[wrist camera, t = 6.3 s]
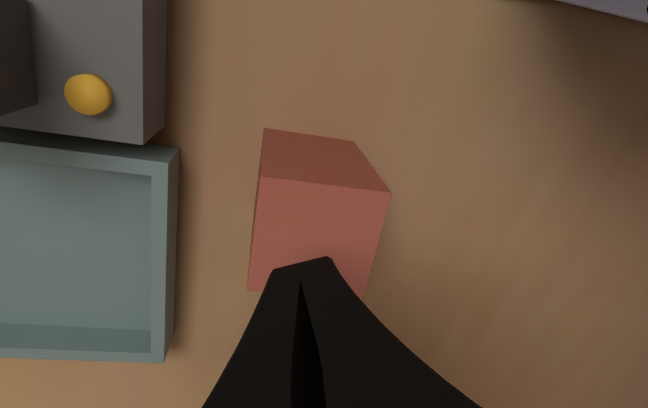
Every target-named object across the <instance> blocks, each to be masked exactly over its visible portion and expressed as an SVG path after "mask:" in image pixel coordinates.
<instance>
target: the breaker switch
mask: <svg viewBox="0 0 648 408" xmlns="http://www.w3.org/2000/svg"><path fill="white" fill-rule="evenodd" d="M37 104H39V103H38V94H37V85H36V76H35V68H34V59H33V50H32V41H31V32H30V23H29V14H28V5H27V0H0V116H2V115H5V114H8V113H11V112H14V111H18V110H21V109H24V108H27V107H30V106H34V105H37Z"/></svg>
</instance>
